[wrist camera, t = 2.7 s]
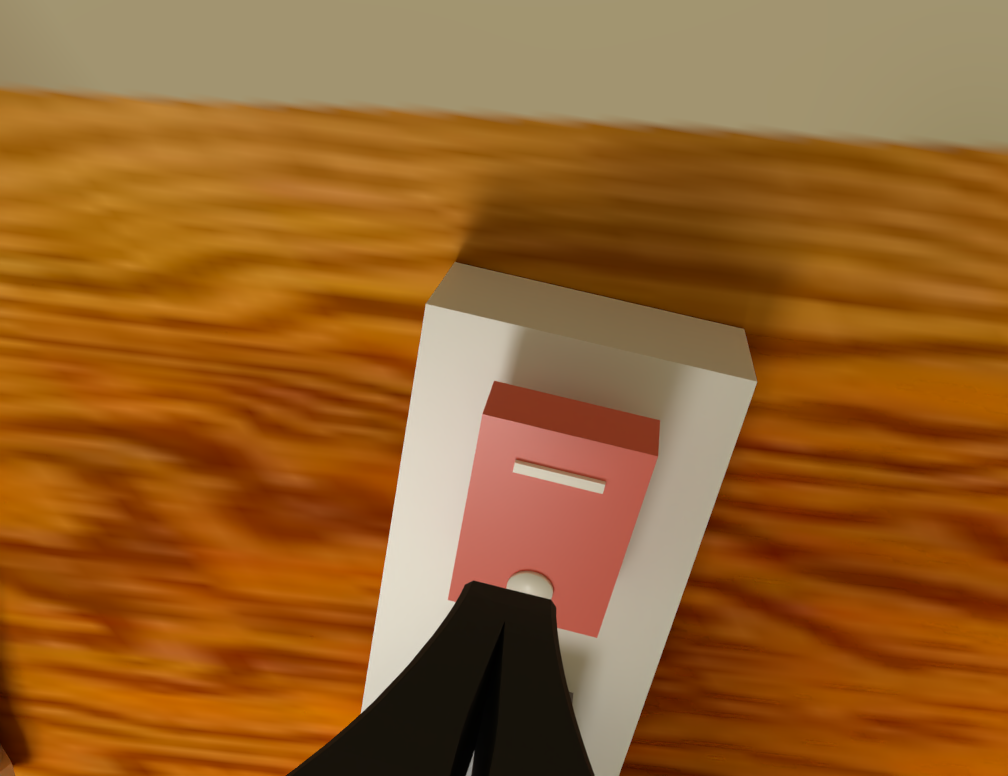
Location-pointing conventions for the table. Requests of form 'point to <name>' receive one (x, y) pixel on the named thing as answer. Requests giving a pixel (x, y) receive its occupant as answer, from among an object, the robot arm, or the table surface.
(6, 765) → the pipe fitting
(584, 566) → the red rocker
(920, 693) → the table surface
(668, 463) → the rocker switch panel
